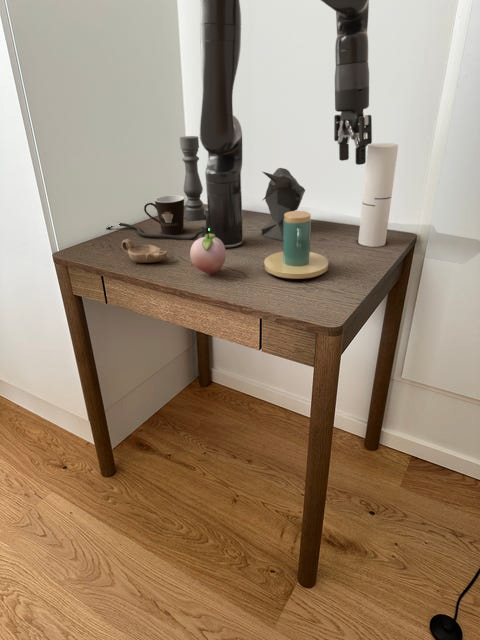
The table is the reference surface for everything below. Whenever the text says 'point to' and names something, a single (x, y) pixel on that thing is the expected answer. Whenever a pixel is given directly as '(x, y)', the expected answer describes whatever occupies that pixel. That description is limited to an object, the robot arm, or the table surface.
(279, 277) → the turntable base
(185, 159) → the candle holder
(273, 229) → the narwhal figurine
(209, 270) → the decorative fruit
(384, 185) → the cylindrical container
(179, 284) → the table surface
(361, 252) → the table surface
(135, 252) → the oil lamp
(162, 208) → the coffee mug
